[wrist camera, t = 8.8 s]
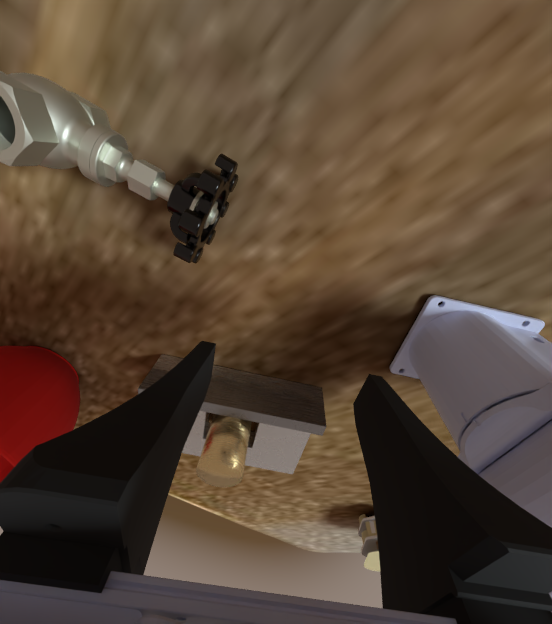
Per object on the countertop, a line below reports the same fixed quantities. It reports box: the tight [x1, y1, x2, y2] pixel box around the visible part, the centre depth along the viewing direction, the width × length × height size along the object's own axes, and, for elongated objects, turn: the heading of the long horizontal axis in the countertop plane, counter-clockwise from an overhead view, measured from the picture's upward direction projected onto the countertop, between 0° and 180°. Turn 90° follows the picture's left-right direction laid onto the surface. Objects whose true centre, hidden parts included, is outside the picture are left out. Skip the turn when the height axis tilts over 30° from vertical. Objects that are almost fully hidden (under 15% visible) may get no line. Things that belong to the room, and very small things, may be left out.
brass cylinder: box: [196, 414, 252, 487], centre depth 26 cm, size 4×4×7 cm
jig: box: [138, 354, 326, 474], centre depth 27 cm, size 16×12×4 cm
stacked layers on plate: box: [358, 514, 380, 571], centre depth 36 cm, size 10×9×6 cm
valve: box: [0, 71, 238, 263], centre depth 15 cm, size 7×7×12 cm
